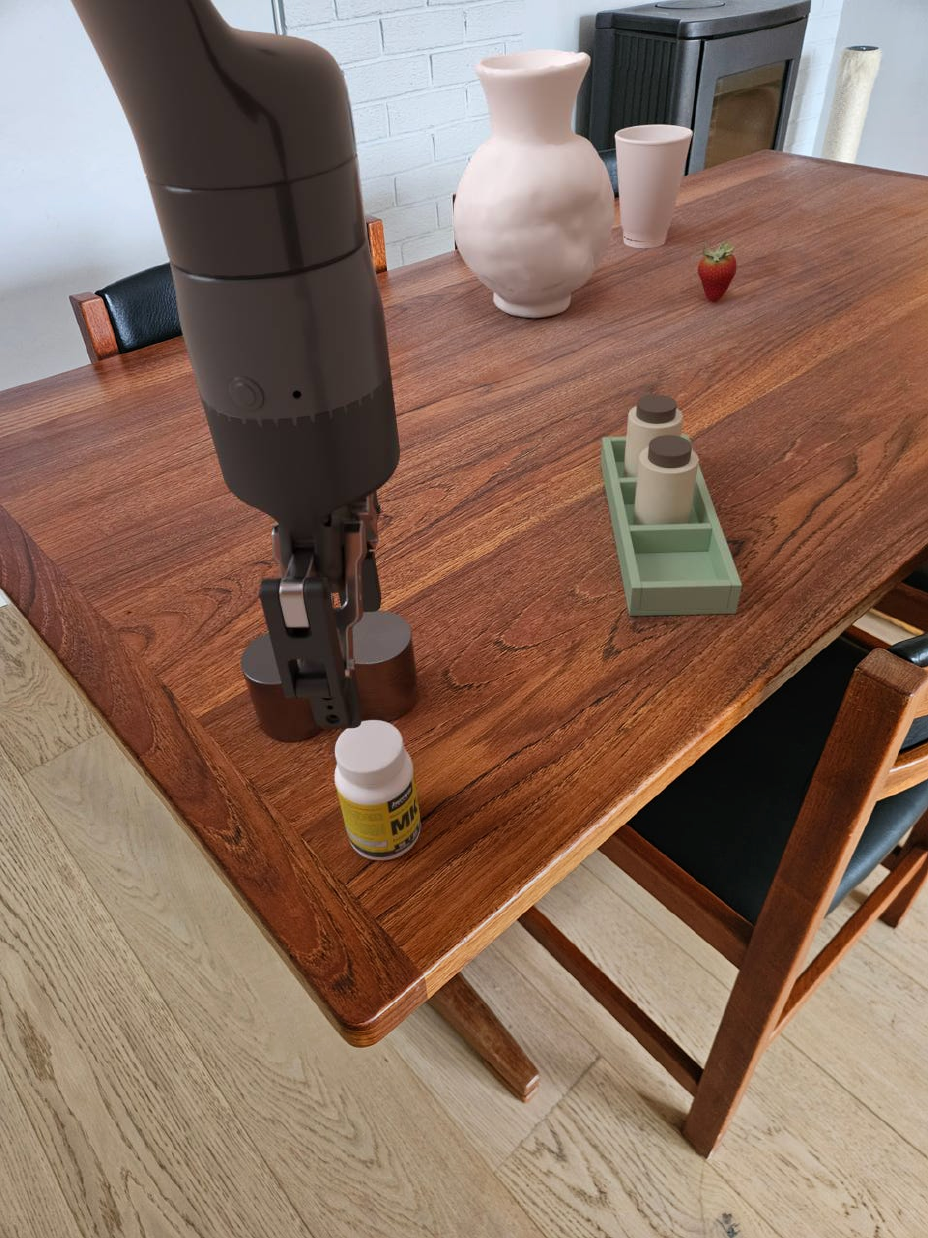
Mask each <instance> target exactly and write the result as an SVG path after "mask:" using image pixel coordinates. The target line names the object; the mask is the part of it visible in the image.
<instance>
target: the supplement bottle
mask: <svg viewBox="0 0 928 1238" xmlns="http://www.w3.org/2000/svg"><path fill="white" fill-rule="evenodd" d="M404 743H405V742H404V739H403V735H402V734H401V732H400V731H399V729H398V728H397V727H396V726H395V725H393V724H391V723H389V722H388V721H385V722H384V721H379V720H367V721H365V720H362V721H361V725H360V726H359V727H357V728H345V729H344V731H343V732H341V733H340V735H339V736H338V738H337V739H336V742H335V746H334V755H335V761H336V766H335V768H334V769H335V770H334V785H335V790H336V792H337V796H338V800H339V804H340V809H341V813H342V817H343V821H344V827H345V831H346V834H347V838H348V842H349V844H350V845H351V847H352V848H353V850H354V851H355V852H356V853H357V854H359V855H360V856H362V857H364V858H366V859H369V860H373V861H388V860H393V859H397V858H398V857H401V856H403V855H404V854H406V853H407V852H408V851H410V850H411V849H412V848H413V847H414V845H415V844H416V842H417V841H418V838H419V837H420V833H421V829H422V822H421V814H420V806H419V801H418V800H419V799H418V791H417V785H416V776H415V771H414V763H413V760H412V757H411V756H410V754H409V753H408V751H407V750H406V747H405V744H404Z"/></svg>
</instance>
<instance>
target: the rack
mask: <svg viewBox="0 0 928 1238" xmlns="http://www.w3.org/2000/svg"><path fill="white" fill-rule="evenodd" d="M626 437H627V435H626V436H602V437H601V448H600V462H599V463H600V467H601V473H602V479H603V483H604V489H605V495H606V500H607V506H608V510H609V511H608V512H609V516H610V521H611V527H612V533H613V537H614V543H615V548H616V554H617V558H618V564H619V569H620V575H621V580H622V585H623V591H624V597H625V601H626V606H627V613H628V616H629V617H647V616H649V617H651V616H686V615H687V616H689V615H692V616H693V615H694V616H695V615H696V616H697V615H736V614H737V613H738V606H739V602H740V598H741V592H742V588H743V583H742V580H741V578H740V575H739V572H738V570H737V567H736V564H735V561H734V557H733V555H732V553H731V550H730V548H729V544H728V541H727V539H726V536H725V533H724V531H723V528H722V526H721V523H720V519H719V516H718V513H717V512H716V508H715V505H714V503H713V501H712V498H711V494H710V491H709V489H708V487H707V484H706V481H705V478H704V475H703V473H702V469H701V467H700V464H699V463H698V468H697V475H696V481H695V488H694V494H693V501H692V508H691V514H690V521H689V524H665V525H633V517H634V507H635V496H636V486H637V477H632V478H623V472H624V460H625V449H626ZM680 437H682V438H685V439H687V440H688V441H689V442H690V443H691V445H692V442H691V439H690V436H689V434H687V433H685V434H684V433H683V434H682V433H681V436H680ZM692 450H693V451H694V452H695V450H694V448H693V445H692Z"/></svg>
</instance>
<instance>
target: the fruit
mask: <svg viewBox="0 0 928 1238" xmlns="http://www.w3.org/2000/svg"><path fill="white" fill-rule="evenodd" d="M728 245H729V241H728V240H725V242H724V243H723V244H722V243H719V246H718V247H717V249H716V250H715V251H712V250H711V249H710V248H709V247H708V246H707V243H705V245H704V246H705V247H703V249H702V256H703V258H702V259H701V260H700V262H699V263H698V266H697V274H698V277H699V280H700V282H701V285H702V290H703V292H704V294H705V296H706V299H707V300H708V301H709V302H713V303H716V302H718V301H720V300H722V298H723V296H724V295H725V294H726V293H727V290H728V289H729V287H730V285H731V283H732V280H733V279H734V278H735V275H736V273H737V268H738V267H737V265H738V264H737V260H736V257H735V255H733V252H734V251H733V250H734V249H735V248H736V247H735V246H736V245H733V246H732V247H729V248H728ZM705 250H706V251H707V252H705Z"/></svg>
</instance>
